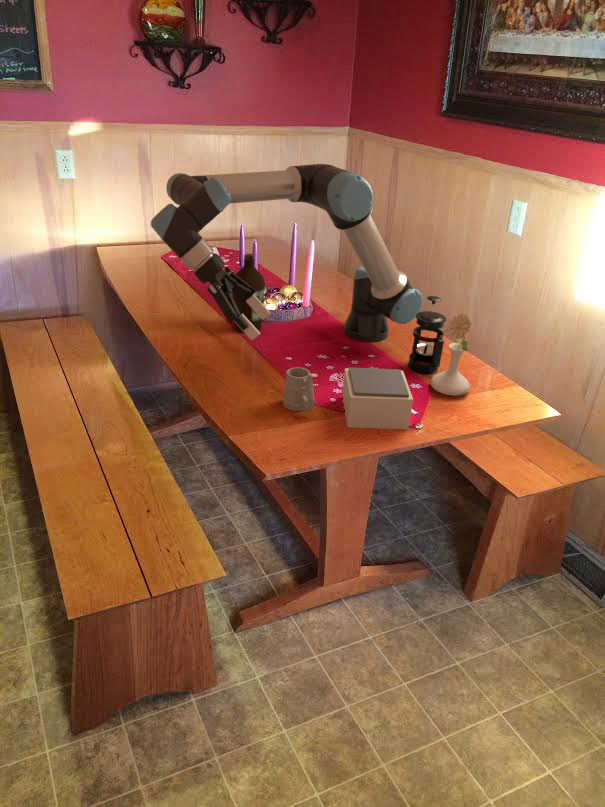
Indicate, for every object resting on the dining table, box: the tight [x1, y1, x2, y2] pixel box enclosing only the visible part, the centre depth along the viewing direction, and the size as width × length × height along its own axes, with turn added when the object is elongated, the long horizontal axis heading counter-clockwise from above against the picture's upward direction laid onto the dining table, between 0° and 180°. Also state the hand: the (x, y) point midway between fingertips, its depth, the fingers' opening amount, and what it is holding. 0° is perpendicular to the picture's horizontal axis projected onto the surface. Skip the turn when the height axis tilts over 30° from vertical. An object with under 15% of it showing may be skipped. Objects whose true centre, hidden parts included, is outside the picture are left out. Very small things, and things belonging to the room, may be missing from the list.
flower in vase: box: [429, 312, 472, 396], centre depth 188 cm, size 13×11×25 cm
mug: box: [281, 366, 315, 413], centre depth 177 cm, size 8×12×12 cm, turn 30°
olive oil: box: [232, 253, 266, 334], centre depth 218 cm, size 11×11×25 cm
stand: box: [341, 366, 414, 430], centre depth 178 cm, size 16×16×10 cm
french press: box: [407, 295, 447, 376], centre depth 200 cm, size 12×9×23 cm
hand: (261, 326), depth 169 cm, fingers open, 13 cm apart
